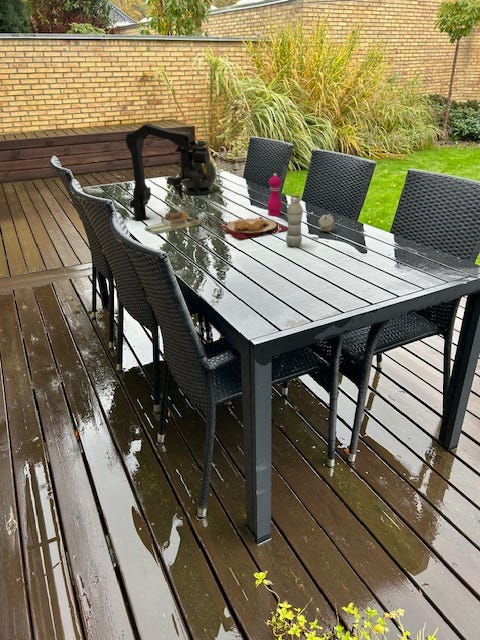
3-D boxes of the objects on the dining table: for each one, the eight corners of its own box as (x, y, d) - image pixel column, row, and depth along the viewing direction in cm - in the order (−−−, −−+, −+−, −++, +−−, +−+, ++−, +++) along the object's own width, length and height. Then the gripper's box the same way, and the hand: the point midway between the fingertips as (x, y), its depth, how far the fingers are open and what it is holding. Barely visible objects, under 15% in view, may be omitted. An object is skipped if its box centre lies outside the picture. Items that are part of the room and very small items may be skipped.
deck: (145, 230, 221) (144, 221, 219) (189, 220, 234) (188, 211, 233) (155, 234, 215) (154, 225, 213) (199, 224, 228) (199, 215, 226)
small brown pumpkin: (329, 239, 218) (343, 221, 215) (324, 237, 210) (339, 219, 207) (314, 226, 220) (328, 209, 217) (309, 225, 212) (324, 206, 209)
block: (166, 221, 224) (165, 213, 222) (174, 219, 226) (173, 212, 225) (171, 223, 221) (170, 215, 219) (179, 221, 223) (179, 214, 222)
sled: (163, 223, 224) (162, 213, 222) (179, 219, 229) (179, 210, 227) (170, 225, 220) (169, 216, 218) (186, 222, 225) (186, 213, 223)
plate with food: (290, 232, 218) (290, 224, 216) (239, 241, 206) (239, 232, 204) (260, 220, 237) (260, 213, 235) (212, 227, 225) (212, 220, 223)
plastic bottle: (303, 243, 201) (305, 195, 192) (299, 249, 195) (301, 199, 186) (288, 242, 203) (289, 194, 194) (283, 247, 197) (285, 198, 188)
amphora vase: (215, 196, 276) (213, 144, 263) (177, 197, 276) (174, 145, 263) (217, 188, 295) (215, 139, 282) (182, 188, 295) (179, 139, 282)
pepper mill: (280, 216, 237) (281, 174, 228) (266, 216, 239) (266, 174, 230) (282, 212, 244) (283, 172, 234) (268, 212, 245) (268, 171, 236)
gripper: (178, 167, 206) (181, 204, 214) (214, 162, 217) (215, 197, 224) (165, 164, 214) (167, 199, 221) (200, 159, 224) (201, 193, 232)
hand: (188, 197), depth 224 cm, fingers open, 8 cm apart
